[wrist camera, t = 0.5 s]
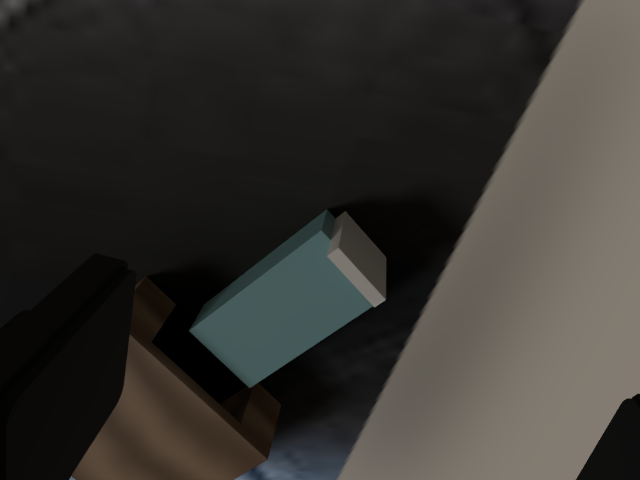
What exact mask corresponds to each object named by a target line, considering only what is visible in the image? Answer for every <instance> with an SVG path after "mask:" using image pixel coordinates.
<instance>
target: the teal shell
mask: <svg viewBox="0 0 640 480" xmlns="http://www.w3.org/2000/svg"><path fill="white" fill-rule="evenodd" d="M385 300H386V256H385V255H384V254H383V253H382V252H381V251H380V250H379V249H378V247H377V246H376V245H375V244H374V243H373V242H372V241H371V240H370V238H369V237H368V236H367V235H366V234H365V233H364V232H363V231H362V229H361V228H360V227H359V226H358V225H357V224H356V223H355V221H354V220H353V219H352V218H351V217H350V216H349V215H348V214H347V212H346V211H345V212H344V213H342V214H341V215H340V216H338V217H337V218H336V219H335V218H334V217H333V215H332V214H331V213H330V212H329V211H328V210H325V211H324V212H323V213H322V214H320V215H319V216H318V217H316V218H315V219H314V220H313V221H311V222H310V223H309V224H307V225H306V226H305V227H304V228H302V229H301V230H300V231H298V232H297V233H296V234H295V235H293V236H292V237H291V238H289V239H288V240H287V241H285V242H284V243H283V244H282V245H280V246H279V247H278V248H276V249H275V250H274V251H273V252H271V253H270V254H269V255H267V256H266V257H265V258H264V259H262V260H261V261H260V262H258V263H257V264H256V265H254V266H253V267H252V268H251V269H249V270H248V271H247V272H245V273H244V274H243V275H242V276H240V277H239V278H238V279H236V280H235V281H234V282H233V283H231V284H230V285H229V286H227V287H226V288H225V289H224V290H222V291H221V292H220V293H218V294H217V295H216V296H214V297H213V298H212V299H211V300H209V301H208V302H207V303H205V304H204V306H203V307H202V309H201V311H200V313H199V314H198V316H197V318H196V319H195V321H194V323H193V325H192V326H191V328H190V330H189V332H191V333H192V334H193V335H194V336H195V337H196V338H197V339H198V340H199V341H200V342H201V343H202V344H203V345H204V346H205V347H206V348H207V349H209V350H210V351H211V352H212V353H213V354H214V355H215V356H216V357H217V358H218V359H219V360H220V361H221V362H222V363H223V364H224V365H226V366H227V367H228V368H229V369H230V370H231V371H232V372H233V373H234V374H235V375H236V376H237V377H238V378H239V379H240V380H241V381H243V382H244V383H245V384H246V385H247V386H248V387H249V388H251V387H252V386H254V385H255V384H257V383H258V382H260V381H261V380H263V379H264V378H266V377H267V376H269V375H270V374H272V373H273V372H275V371H276V370H278V369H279V368H281V367H282V366H284V365H285V364H287V363H288V362H290V361H291V360H293V359H294V358H296V357H297V356H299V355H300V354H302V353H303V352H305V351H306V350H308V349H309V348H311V347H312V346H314V345H315V344H317V343H318V342H320V341H321V340H323V339H324V338H326V337H327V336H329V335H330V334H332V333H333V332H335V331H336V330H338V329H339V328H341V327H342V326H344V325H345V324H347V323H348V322H350V321H351V320H353V319H354V318H356V317H357V316H359V315H360V314H362V313H363V312H365V311H366V310H368V309H369V308H371V307H372V306H373V307H376V306H377V305H379V304H380V303H382V302H383V301H385Z"/></svg>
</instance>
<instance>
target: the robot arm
mask: <svg viewBox="0 0 640 480" xmlns="http://www.w3.org/2000/svg"><path fill="white" fill-rule="evenodd" d="M135 283H136V273H135V271H132V270H128V264H127V262H126V261H124V260H120V259H116V258H112V257H108V256H105V255H101V254H93V255H92V256H91V257H89V258H88V259H87V260H86V261H85V262H84V263H83V264H82V265H81V266H79V267H78V268H77V269H76V270H75V271H74V272H73V273H72V274H71V275H69V276H68V277H67V278H66V279H65V280H64V281H63V282H62V283H61V284H59V285H58V286H57V287H56V288H55V289H54V290H53V291H52V292H50V293H49V294H48V295H47V296H46V297H45V298H44V299H43V300H42V301H40V302H39V303H38V304H37V305H36V306H35V307H34V308H33V309H32V310H25V311H21V312H20V313H18V314H17V315H15V316H14V317H13V318H12V319H11V320H10V321H8V322H7V323H6V324H5V325H4V326H3V327H2V328H0V480H69V479H70V477H71V475H72V474H73V472H74V471H75V469H76V468H77V466H78V465H79V463H80V461H81V460H82V458H83V457H84V455H85V454H86V452H87V450H88V449H89V447H90V446H91V444H92V443H93V441H94V440H95V438H96V436H97V435H98V433H99V432H100V430H101V429H102V427H103V425H104V424H105V422H106V421H107V419H108V418H109V416H110V415H111V413H112V411H113V410H114V408H115V407H116V405H117V403H118V401H119V399H120V397H121V394H122V391H123V387H124V380H125V371H126V362H127V354H128V345H129V336H130V327H131V319H132V310H133V301H134V292H135ZM576 480H640V394H637V395H635V396H634V397H632V399H626V400H624V401H623V402H622V404H621V405H620V407H619V409H618V410H617V412H616V413H615V415H614V417H613V418H612V420H611V422H610V423H609V425H608V427H607V428H606V430H605V432H604V433H603V435H602V437H601V439H600V440H599V442H598V444H597V445H596V447H595V449H594V450H593V452H592V454H591V455H590V457H589V459H588V460H587V462H586V464H585V465H584V467H583V469H582V470H581V472H580V474H579V475H578V477H577V479H576Z"/></svg>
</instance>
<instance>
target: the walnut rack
mask: <svg viewBox="0 0 640 480" xmlns="http://www.w3.org/2000/svg"><path fill="white" fill-rule="evenodd" d="M175 306H176V304H175V303H174V302H173V301H172V300H171V299H170V298H169V297H167V296H166V295H165V294H164V293H163V292H162V291H161V290H160V289H159V288H158V287H157V286H156V285H155V284H154V283H153V282H152V281H151V280H150V279H149V278H148V277H145V278H144V279H143V280H142V281H140V282H139V283H138V284H137V285H136V286H135V292H134V301H133V310H132V319H131V327H130V336H129V345H128V354H127V362H126V371H125V380H124V387H123V391H122V394H121V397H120V399H119V401H118V403H117V405H116V407H115V408H114V410H113V411H112V413H111V415H110V416H109V418H108V419H107V421H106V422H105V424H104V425H103V427H102V429H101V430H100V432H99V433H98V435H97V436H96V438H95V440H94V441H93V443H92V444H91V446H90V447H89V449H88V450H87V452H86V454H85V455H84V457H83V458H82V460H81V461H80V463H79V465H78V466H77V468H76V469H75V471H74V472H73V474H72V475H71V476H72V477H73V478H74V479H76V480H234V479H235V478H237V477H239V476H240V475H242V474H244V473H245V472H247V471H249V470H251V469H252V468H254V467H256V466H257V465H259V464H261V463H262V462H264V461H266V460H267V459H268V456H269V452H270V448H271V444H272V440H273V436H274V432H275V428H276V424H277V420H278V416H279V412H280V409H281V404H280V403H279V402H278V401H277V400H276V399H275V398H274V397H273V396H272V395H271V394H269V393H268V392H267V391H266V390H265V389H264V388H263V387H262V386H261V385H260V384H259V383H257V384H255V385H254V386H252V387H251V388H249V387H248V386H246V387H245V388H243V389H242V390H240V391H239V392H237V393H236V394H234V395H233V396H231V397H230V398H228V399H227V400H225V401H224V402H222V403H221V404H219V403H218V402H217V401H216V400H214V399H213V398H212V397H211V396H210V395H209V394H208V393H207V392H206V391H205V390H203V389H202V388H201V387H200V386H199V385H198V384H197V383H196V382H195V381H194V380H193V379H191V378H190V377H189V376H188V375H187V374H186V373H185V372H184V371H183V370H182V369H181V368H179V367H178V366H177V365H176V364H175V363H174V362H173V361H172V360H171V359H170V358H168V357H167V356H166V355H165V354H164V353H163V352H162V351H161V350H160V349H159V348H158V347H156V346H155V345H154V344H153V343H152V340H153V339H154V337H155V336H156V334H157V333H158V331H159V330H160V328H161V327H162V325H163V324H164V322H165V321H166V319H167V318H168V316H169V315H170V313H171V312H172V310H173V309H174V307H175Z"/></svg>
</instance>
